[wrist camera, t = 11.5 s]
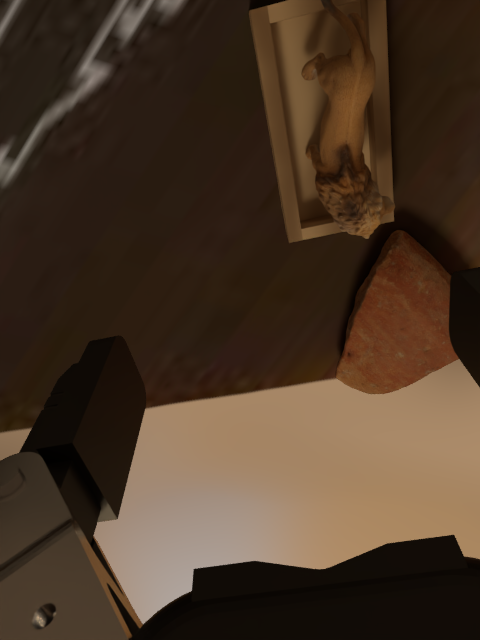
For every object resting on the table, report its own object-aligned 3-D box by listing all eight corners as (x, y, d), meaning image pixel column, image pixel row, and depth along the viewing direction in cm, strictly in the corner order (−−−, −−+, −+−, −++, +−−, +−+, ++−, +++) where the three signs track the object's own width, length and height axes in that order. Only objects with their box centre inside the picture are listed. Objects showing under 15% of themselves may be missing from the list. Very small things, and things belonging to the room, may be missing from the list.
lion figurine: (369, 181, 39) (406, 237, 32) (309, 197, 39) (333, 255, 33) (357, -25, 29) (406, -5, 22) (277, 1, 29) (302, 29, 23)
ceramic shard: (289, 346, 42) (413, 228, 38) (282, 322, 48) (388, 218, 44) (390, 436, 45) (513, 336, 42) (372, 403, 51) (478, 313, 48)
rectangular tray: (286, 231, 41) (289, 242, 39) (248, 13, 32) (249, 10, 30) (384, 210, 40) (394, 221, 38) (373, -20, 31) (384, -26, 29)
